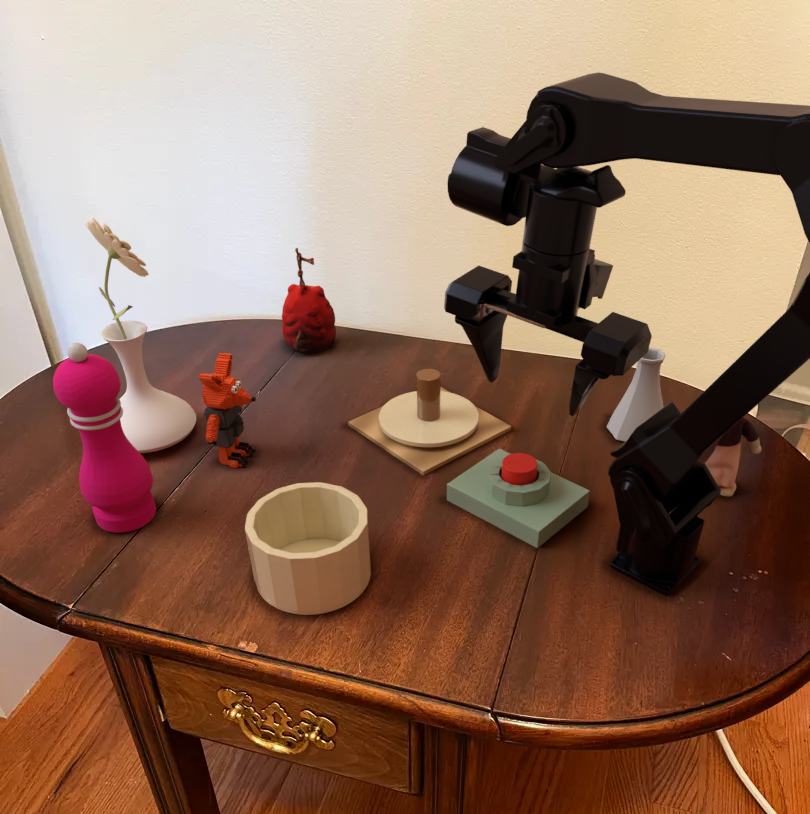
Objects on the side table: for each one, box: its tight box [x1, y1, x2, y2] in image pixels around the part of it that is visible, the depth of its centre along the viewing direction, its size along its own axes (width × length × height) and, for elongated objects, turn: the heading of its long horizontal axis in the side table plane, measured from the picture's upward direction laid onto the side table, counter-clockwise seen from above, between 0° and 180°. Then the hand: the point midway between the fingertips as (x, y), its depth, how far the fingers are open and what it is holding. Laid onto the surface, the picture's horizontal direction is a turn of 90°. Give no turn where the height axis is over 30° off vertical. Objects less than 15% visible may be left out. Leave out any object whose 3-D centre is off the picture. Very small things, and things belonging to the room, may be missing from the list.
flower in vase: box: [85, 217, 197, 454], centre depth 94 cm, size 13×11×25 cm
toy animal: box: [198, 352, 257, 469], centre depth 93 cm, size 8×5×12 cm
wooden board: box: [347, 386, 512, 476], centre depth 101 cm, size 14×14×1 cm
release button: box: [501, 452, 537, 486], centre depth 87 cm, size 4×4×2 cm
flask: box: [606, 347, 666, 442], centre depth 97 cm, size 7×7×10 cm
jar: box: [244, 481, 372, 616], centre depth 79 cm, size 11×11×7 cm
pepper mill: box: [52, 342, 157, 534], centre depth 83 cm, size 7×7×20 cm
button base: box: [446, 448, 591, 549], centre depth 88 cm, size 12×9×4 cm
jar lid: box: [379, 368, 479, 447], centre depth 99 cm, size 12×12×7 cm
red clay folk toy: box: [281, 247, 337, 354], centre depth 114 cm, size 8×7×15 cm
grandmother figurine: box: [705, 417, 763, 497], centre depth 87 cm, size 8×4×13 cm, turn 92°
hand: (532, 396), depth 82 cm, fingers open, 9 cm apart
